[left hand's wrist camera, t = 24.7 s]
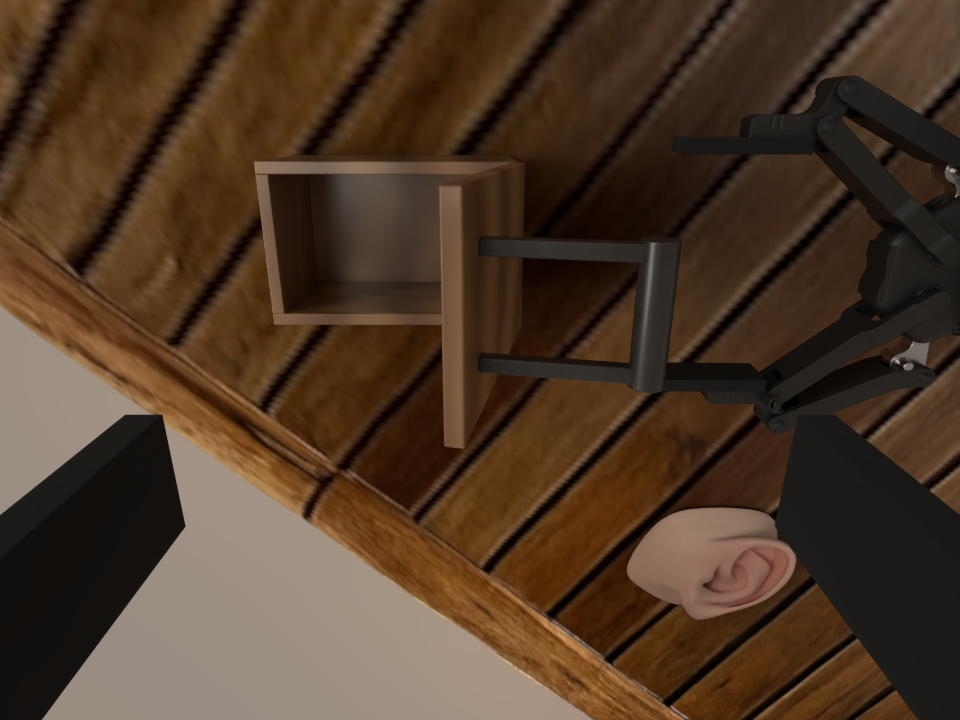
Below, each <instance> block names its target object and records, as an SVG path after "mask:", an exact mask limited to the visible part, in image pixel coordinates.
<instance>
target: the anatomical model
mask: <svg viewBox="0 0 960 720" xmlns="http://www.w3.org/2000/svg"><path fill="white" fill-rule="evenodd" d="M795 564H796V555H795V553H794V552H793V551H792V549H791V548H790V547H789V545H788V544H787V543H785V542H783V541H781V540H778V539H777V529H776V528H775V522H774V520H773V519H772V518H771V517H770V516H769V515H767V514H766V513H763V512H760V511H756V510H750V509H741V508H698V509H689V510H683V511H679V512H676V513H673V514H671V515H669V516H667V517H665V518H664V519H662V520H661V521H659V522H658V523H657V524H656V525H655V526H654V527H653V528H652V529H651V530H650V531H649V532H648V533H647V534H646V535H645V536H644V538H643V539H642V541H641V542H640V543H639V545H638V546H637V548H636V549H635V551H634V553H633V554H632V556H631V558H630V560H629V563H628V566H627V574H628V576H629V578H630V579H631V580H632V581H633V582H634V583H635V584H636V585H638V586H639V587H641V588H642V589H644V590H645V591H647V592H649V593H650V594H652V595H653V596H656V597H658V598H660V599H662V600H664V601H667V602H669V603H673V604H682V605H683V607H684V608H685V610H686V611H687V612H688V614H689V615H690V616H692V617H693V618H695V619H699V620H700V619H707V618H711V617H715V616H719V615H722V614H726V613H729V612H733V611H737V610H740V609H743V608H747V607H750V606H752V605H755V604H757V603H760V602H762V601H764V600H765V599H767V598H769V597H770V596H772V595H773V594H774V593H776V592H777V591H778V590H779V589H780V588H782V587H783V586H784V585H785V584H786V583H787V581H788V580H789V579H790V577H791V575H792V574H793V571H794V568H795Z"/></svg>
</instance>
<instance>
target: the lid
mask: <svg viewBox="0 0 960 720" xmlns="http://www.w3.org/2000/svg"><path fill="white" fill-rule="evenodd" d="M524 199H525V163H524V162H511V163H508V164H505V165H502V166H499V167H496V168H493V169H489V170H486V171H483V172H480V173H477V174H474V175H470V176H467V177H464V178H461V179H458V180H455V181H451V182H448V183H445V184H442V185H440V186H439V220H440V266H441V313H442V359H443V405H444V445H445V446H446V447H454V448H465V446H466V444H467V442H468V439H469V437H470V435H471V433H472V431H473V429H474V427H475V424H476V422H477V420H478V418H479V416H480V414H481V412H482V409H483V407H484V405H485V403H486V401H487V399H488V397H489V394H490V392H491V390H492V388H493V386H494V384H495V382H496V379H497V377H498V375H499V374H507V375H520V376H533V377H545V378H558V379H571V380H583V381H596V382H609V383H621V384H628V386H629V388H631V389H633V390H635V391H638V392H643V393H657V392H660V391H662V390H663V389H664V385H665V376H666V368H667V360H668V352H669V343H670V335H671V327H672V318H673V310H674V302H675V293H676V285H677V277H678V269H679V260H680V252H681V244H682V241H681V240H680V239H677V238H673V237H663V236H650V237H644V238H642V239H641V241H618V240H590V239H562V238H534V237H523V236H524ZM523 258H537V259H561V260H584V261H608V262H632V263H639V268H638V278H637V288H636V299H635V309H634V320H633V330H632V340H631V351H630V361H629V363H621V362H607V361H593V360H579V359H566V358H552V357H538V356H524V355H511V354H509V352H510V349H511V347H512V345H513V343H514V341H515V339H516V337H517V334H518V332H519V330H520V328H521V308H522V272H523Z"/></svg>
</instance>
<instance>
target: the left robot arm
mask: <svg viewBox="0 0 960 720" xmlns="http://www.w3.org/2000/svg"><path fill="white" fill-rule="evenodd" d="M184 528H185V522H184V517H183V512H182V507H181V502H180V498H179V493H178V488H177V483H176V478H175V474H174V469H173V464H172V459H171V454H170V449H169V445H168V440H167V435H166V430H165V425H164V421H163V416H162V415H124V416H123V417H122V418H121V419H119V420H118V421H117V422H116V423H114V424H113V425H112V426H111V427H109V428H108V429H107V430H106V431H104V432H103V433H102V434H101V435H99V436H98V437H97V438H96V439H94V440H93V441H92V442H91V443H89V444H88V445H87V446H86V447H85V448H83V449H82V450H81V451H80V452H78V453H77V454H76V455H75V456H73V457H72V458H71V459H70V460H68V461H67V462H66V463H65V464H63V465H62V466H61V467H60V468H58V469H57V470H56V471H55V472H53V473H52V474H51V475H50V476H48V477H47V478H46V479H45V480H43V481H42V482H41V483H40V484H38V485H37V486H36V487H35V488H33V489H32V490H31V491H30V492H28V493H27V494H26V495H25V496H23V497H22V498H21V499H20V500H18V501H17V502H16V503H15V504H13V505H12V506H11V507H10V508H8V509H7V510H6V511H5V512H3V513H2V514H1V515H0V720H42V719H43V717H44V716H45V715H46V713H47V712H48V711H49V709H50V708H51V707H52V705H53V704H54V703H55V701H56V700H57V699H58V697H59V696H60V695H61V693H62V692H63V691H64V689H65V688H66V686H67V685H68V684H69V682H70V681H71V680H72V678H73V677H74V676H75V674H76V673H77V672H78V670H79V669H80V668H81V666H82V665H83V664H84V662H85V661H86V660H87V658H88V657H89V656H90V654H91V653H92V651H93V650H94V649H95V647H96V646H97V645H98V643H99V642H100V641H101V639H102V638H103V637H104V635H105V634H106V633H107V631H108V630H109V629H110V627H111V626H112V625H113V623H114V622H115V621H116V619H117V618H118V617H119V615H120V614H121V612H122V611H123V610H124V608H125V607H126V606H127V604H128V603H129V602H130V600H131V599H132V598H133V596H134V595H135V594H136V592H137V591H138V590H139V588H140V587H141V586H142V584H143V583H144V582H145V580H146V579H147V578H148V576H149V575H150V574H151V572H152V571H153V569H154V568H155V567H156V565H157V564H158V563H159V561H160V560H161V559H162V557H163V556H164V555H165V553H166V552H167V551H168V549H169V548H170V547H171V545H172V544H173V543H174V541H175V540H176V539H177V537H178V536H179V534H180V533H181V532H182V530H183V529H184ZM775 528H776V529H777V530H778V532H779V533H780V535H781V536H782V537H783V539H784V540H785V541H786V543H787V544H788V545H789V547H790V548H791V549H792V551H793V552H794V553H795V555H796V556H797V557H798V559H799V560H800V561H801V563H802V564H803V565H804V567H805V568H806V569H807V571H808V572H809V574H810V575H811V576H812V578H813V579H814V580H815V582H816V583H817V584H818V586H819V587H820V588H821V590H822V591H823V592H824V594H825V595H826V596H827V598H828V599H829V600H830V602H831V603H832V604H833V606H834V607H835V608H836V610H837V611H838V613H839V614H840V615H841V617H842V618H843V619H844V621H845V622H846V623H847V625H848V626H849V627H850V629H851V630H852V631H853V633H854V634H855V635H856V637H857V638H858V639H859V641H860V642H861V643H862V645H863V646H864V648H865V649H866V650H867V652H868V653H869V654H870V656H871V657H872V658H873V660H874V661H875V662H876V664H877V665H878V666H879V668H880V669H881V670H882V672H883V673H884V674H885V676H886V677H887V678H888V680H889V681H890V682H891V684H892V685H893V687H894V688H895V689H896V691H897V692H898V693H899V695H900V696H901V697H902V699H903V700H904V701H905V703H906V704H907V705H908V707H909V708H910V709H911V711H912V712H913V713H914V715H915V716H916V717H917V719H918V720H960V515H959V514H958V513H957V512H955V511H954V510H953V509H952V508H950V507H949V506H948V505H947V504H945V503H944V502H943V501H942V500H940V499H939V498H938V497H937V496H935V495H934V494H933V493H932V492H930V491H929V490H928V489H927V488H925V487H924V486H923V485H922V484H920V483H919V482H918V481H917V480H915V479H914V478H913V477H912V476H910V475H909V474H908V473H907V472H905V471H904V470H903V469H902V468H900V467H899V466H898V465H897V464H895V463H894V462H893V461H892V460H890V459H889V458H888V457H887V456H885V455H884V454H883V453H882V452H880V451H879V450H878V449H877V448H876V447H874V446H873V445H872V444H871V443H869V442H868V441H867V440H866V439H864V438H863V437H862V436H861V435H859V434H858V433H857V432H856V431H854V430H853V429H852V428H851V427H849V426H848V425H847V424H846V423H844V422H843V421H842V420H841V419H839V418H838V417H837V416H836V415H798V416H797V421H796V425H795V430H794V435H793V440H792V445H791V449H790V454H789V459H788V464H787V469H786V474H785V478H784V483H783V488H782V493H781V498H780V502H779V507H778V512H777V517H776V522H775Z"/></svg>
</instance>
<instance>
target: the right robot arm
mask: <svg viewBox="0 0 960 720" xmlns="http://www.w3.org/2000/svg"><path fill="white" fill-rule="evenodd" d="M815 95H816V97H815V99H814V101H813V103H812V104H811V106H810V107H809V108H808V109H807V110H806V111H804V112H803V113H800V114H751V115H749V116H746V117H744V118H742V122H741V128H740V135H739V137H673V144H672V151H674V152H679V153H683V154H813V151H814V152H815V153H816V154H817V155H818V156H819V158H820V159H821V160H822V161H823V162H824V163H825V164H826V165H827V166H828V167H829V168H830V169H831V170H832V172H833V173H834V174H835V175H836V176H837V177H838V178H839V179H840V180H841V181H842V182H843V183H844V184H845V185H846V187H847V188H848V189H849V190H850V191H851V192H852V193H853V194H854V195H855V196H856V197H857V198H858V199H859V201H860V202H861V203H862V204H863V205H864V206H865V207H866V208H867V210H866V211H867V213H868V214H869V215H870V216H871V217H872V218H873V220H874V221H875V222H876V223H877V224H878V225H879V226H880V227H881V228H882V229H883V230H882V231H881V232H880V233H879V234H878V235H877V237H876V238H875V240H870V242H869V246H868V250H867V267H866V269H865V271H864V273H863V275H862V277H861V279H860V282H859V286H858V290H857V292H859V293H861V296H862V299H861V300H859V301H858V302H856V303H855V304H853V305H852V306H850V307H849V308H847V309H846V310H844V311H843V312H842V314H841V318H840V319H839V320H837V321H836V322H834V323H833V324H831V325H830V326H828V327H827V328H825V329H824V330H822V331H821V332H819V333H818V334H816V335H815V336H813V337H812V338H810V339H809V340H807V341H805V342H804V343H802V344H801V345H799V346H798V347H796V348H795V349H793V350H792V351H790V352H789V353H787V354H786V355H784V356H783V357H781V358H780V359H778V360H777V361H775V362H774V363H772V364H771V365H769V366H768V367H766V368H765V369H763V370H762V371H760V372H758V371H757V370H756V369H755V368H754V367H753V366H752V365H751V364H750V363H667V368H666V376H665V385H664V389H663V390H662V391H700V392H701V394H702V395H703V396H704V398H705V399H706V400H707V401H708V402H711V403H714V404H754V408H753V409H754V412H755V414H756V415H757V416H758V417H759V418H760V420H761V421H762V422H763V423H764V424H765V425H766V427H767V428H768V429H769V430H770V431H771V432H772V433H775V434H779V433H782V432H785V431H788V430H790V429H793V428H795V425H796V421H797V416H798V415H829V414H832V413H834V412H837V411H840V410H842V409H845V408H847V407H850V406H853V405H855V404H858V403H860V402H863V401H865V400H868V399H871V398H873V397H876V396H878V395H881V394H884V393H886V392H889V391H891V390H894V389H905V388H916V387H924V386H928V385H929V384H931V383H932V382H933V380H934V378H935V373H934V371H933V370H931V369H929V368H928V367H926V366H925V364H926V359H927V353H928V348H929V342H932V341H935V340H937V339H939V338H942V337H945V336H950V335H956V336H960V138H958V137H956V136H955V135H953V134H951V133H950V132H948V131H947V130H945V129H943V128H942V127H940V126H938V125H937V124H935V123H933V122H932V121H930V120H929V119H927V118H925V117H924V116H922V115H920V114H919V113H917V112H916V111H914V110H912V109H911V108H909V107H907V106H906V105H904V104H903V103H901V102H899V101H898V100H896V99H894V98H893V97H891V96H890V95H888V94H886V93H885V92H883V91H881V90H880V89H878V88H877V87H875V86H873V85H872V84H870V83H868V82H867V81H865V80H864V79H862V78H860V77H858V76H855V75H854V76H842V77H833V78H825V79H824V80H822V81H820V83H819V84H818V85H817V87H816V90H815ZM843 116H845V117H847V118H849V119H850V120H852V121H854V122H855V123H857V124H859V125H860V126H862V127H864V128H865V129H867V130H869V131H870V132H872V133H874V134H875V135H877V136H879V137H880V138H882V139H884V140H885V141H887V142H889V143H890V144H892V145H894V146H895V147H897V148H899V149H900V150H902V151H904V152H905V153H907V154H909V155H910V156H912V157H914V158H916V159H918V160H920V161H923V162H926V163H931V164H934V165H933V166H932V168H931V171H932V173H933V174H934V176H935V178H936V179H937V180H940V181H942V182H943V183H944V184H945V187H946V191H945V194H943V195H940V196H937V197H935V198H934V199H932V200H930V201H929V202H927V203H925V204H924V205H922V204H921V203H920V202H918V201H916V200H914V199H913V198H912V197H911V196H910V195H909V194H908V193H907V192H906V191H905V190H904V189H903V188H902V186H901V185H900V184H899V183H898V182H897V181H896V180H895V179H894V178H893V176H892V175H891V174H890V173H889V172H888V171H887V170H886V169H885V168H884V166H883V165H882V164H881V163H880V162H879V161H878V160H877V159H876V158H875V156H874V155H873V154H872V153H871V152H870V151H869V150H868V149H867V148H866V146H865V145H864V144H863V143H862V142H861V141H860V140H859V139H858V138H857V136H856V135H855V134H854V133H853V132H852V131H851V130H850V129H849V127H848V126H847V125H846V124H845V123H844V122H843V121H842V118H843ZM876 315H877V316H878V317H879V318H881V320H879V321H873V320H871V318H873V317H874V316H876ZM899 335H902V336H903V340H902V341H901V343H900V344H899V345H898V346H896V347H893V348H890V349H888V348H884V349H883V350H882V351H881V356H874V357H870V358H866V359H863V360H860V361H857V362H855V363H852V364H850V365H847V366H845V367H842V368H840V369H837V368H839V367H841V366H842V365H844V364H845V363H847V362H848V361H850V360H852V359H853V358H855V357H856V356H858V355H859V354H861V353H862V352H864V351H866V350H867V349H869V348H870V347H873V346H882V345H884V344H886V343H888V342H890V341H891V340H893V339H894V338H896V337H898V336H899ZM836 369H837V370H836ZM834 370H835V371H834Z"/></svg>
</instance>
